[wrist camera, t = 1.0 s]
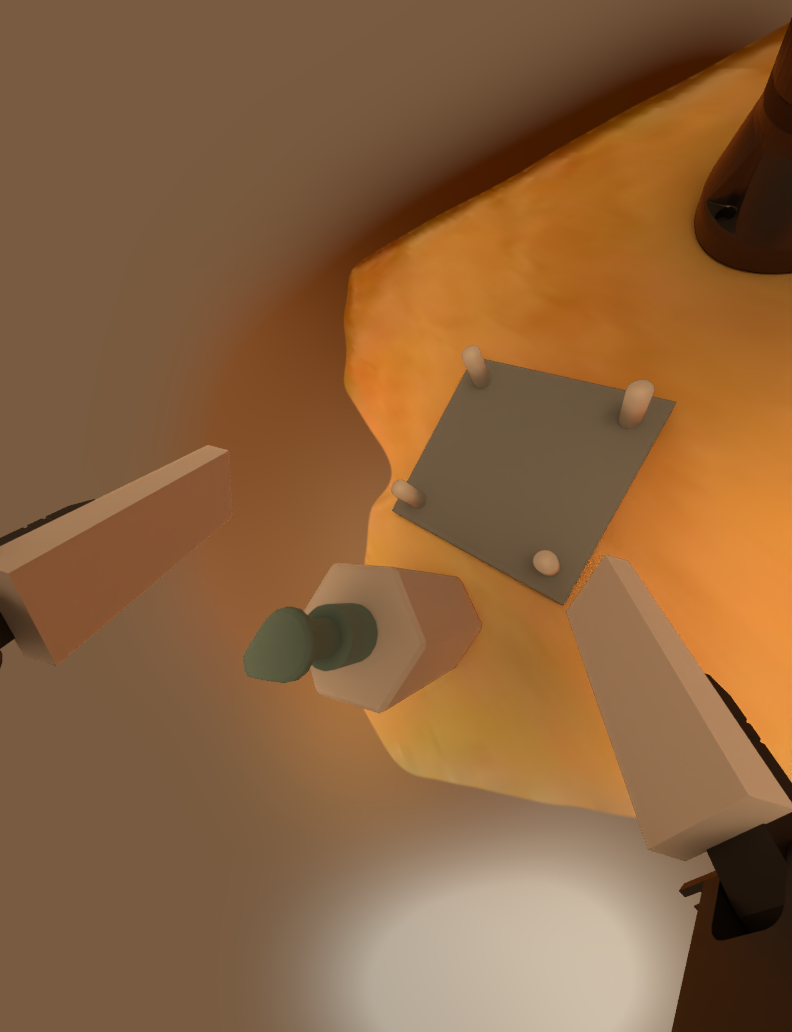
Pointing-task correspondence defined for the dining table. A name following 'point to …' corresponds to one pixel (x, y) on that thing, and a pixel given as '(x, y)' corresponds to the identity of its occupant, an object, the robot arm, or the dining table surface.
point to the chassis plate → (530, 468)
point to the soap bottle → (368, 635)
